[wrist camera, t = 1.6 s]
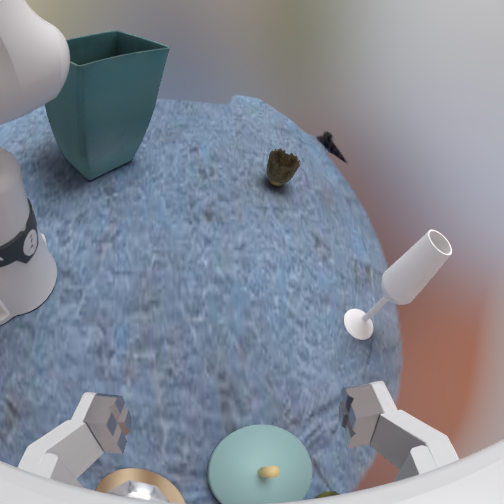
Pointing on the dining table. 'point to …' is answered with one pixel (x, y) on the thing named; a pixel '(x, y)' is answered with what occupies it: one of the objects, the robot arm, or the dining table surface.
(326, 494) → the lime
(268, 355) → the dining table surface
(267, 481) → the hub
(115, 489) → the sleeve
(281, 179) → the cup
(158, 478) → the stand
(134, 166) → the dining table surface
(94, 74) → the flower pot
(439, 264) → the champagne flute
